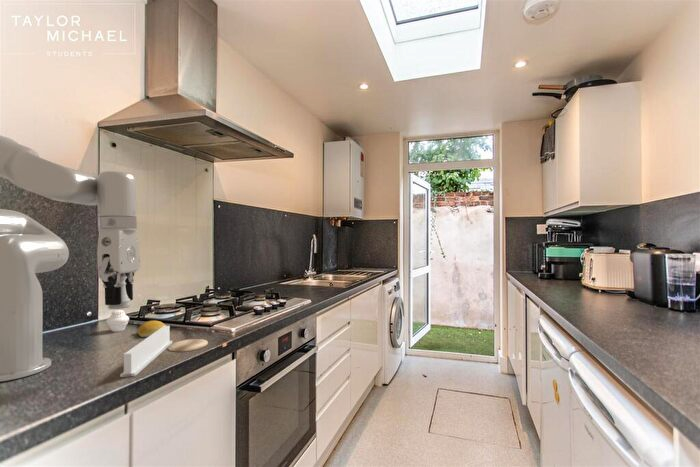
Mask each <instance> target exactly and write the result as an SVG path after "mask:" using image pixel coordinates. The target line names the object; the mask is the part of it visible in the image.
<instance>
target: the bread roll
mask: <svg viewBox="0 0 700 467" xmlns="http://www.w3.org/2000/svg"><path fill="white" fill-rule="evenodd" d="M163 326H167V324H165V323H163V322H162V321H159V320H148V321H145V322H144V323H142V324H141V325H140V326H139V327H138V329H137V334H138V335H139V336H140V338H147V337H149V336H150V335H152V334H153V333H155V332H156V331H158V330H159V329H160V328H162V327H163Z"/></svg>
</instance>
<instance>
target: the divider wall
mask: <svg viewBox="0 0 700 467" xmlns="http://www.w3.org/2000/svg"><path fill="white" fill-rule="evenodd" d="M170 328H171V326H170V325H166V326H163V327H162V328H160V329H159V330H158V331H156V332H155V333H153V334H152V335H150V336H149V337H145V339H143V340H142V341H140V342H139V343H137V344H136V345H135V346H133V347H132V348H130V349H129V350H127V351H126V352H124V353H123V371H122V372H121V373H120V374H119V378H128V377H136V376H137V375H138V374H140V372H142V370H144V369H145V368H146V367H147V366H149V364H151V363H152V362H153V361H154V360H155V359H156V358H157V357H158V356H159V355H160V354H161V353H163V352H164V351H165V350H166V349H167V348H168V347H169V346H170V345H171V344H173V340H171V339H170V338H171V336H170V331H171V330H170Z"/></svg>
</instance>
